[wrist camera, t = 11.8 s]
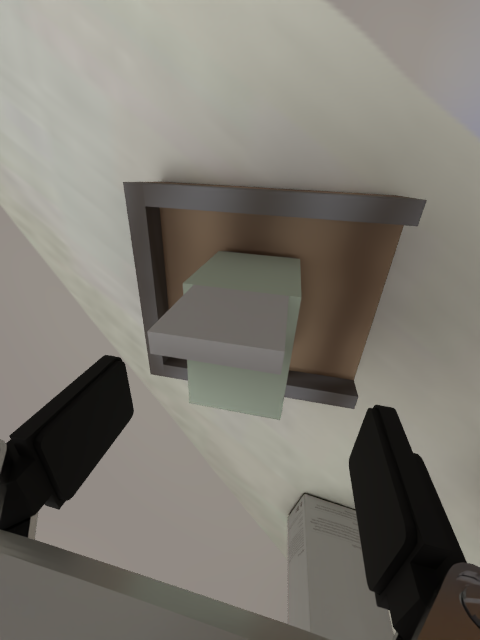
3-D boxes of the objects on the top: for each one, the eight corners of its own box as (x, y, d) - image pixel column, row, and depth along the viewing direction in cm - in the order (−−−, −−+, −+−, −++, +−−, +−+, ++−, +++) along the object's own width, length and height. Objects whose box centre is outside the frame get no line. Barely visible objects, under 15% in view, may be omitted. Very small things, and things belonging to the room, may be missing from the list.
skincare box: (286, 514, 36) (280, 717, 22) (304, 489, 33) (309, 708, 19) (346, 536, 36) (376, 755, 22) (370, 512, 32) (423, 752, 19)
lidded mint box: (300, 253, 17) (302, 354, 7) (285, 345, 20) (274, 499, 10) (223, 246, 18) (131, 329, 8) (221, 336, 21) (155, 472, 11)
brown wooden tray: (394, 195, 17) (426, 200, 13) (344, 368, 24) (354, 408, 19) (160, 181, 19) (123, 182, 15) (174, 342, 26) (150, 374, 22)
